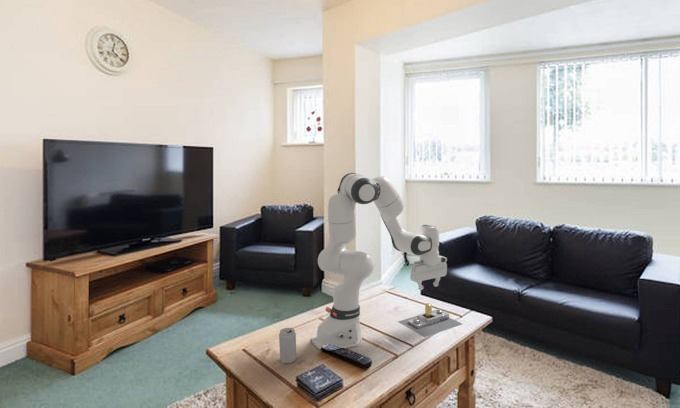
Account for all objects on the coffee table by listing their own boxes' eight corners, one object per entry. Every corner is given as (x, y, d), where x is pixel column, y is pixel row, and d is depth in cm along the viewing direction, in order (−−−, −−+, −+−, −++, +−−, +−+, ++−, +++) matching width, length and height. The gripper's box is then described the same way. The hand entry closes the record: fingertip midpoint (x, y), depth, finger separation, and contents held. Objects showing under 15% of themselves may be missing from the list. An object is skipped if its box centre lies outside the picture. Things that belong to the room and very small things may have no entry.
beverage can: (291, 365, 137) (290, 335, 135) (276, 362, 139) (275, 333, 138) (299, 357, 142) (298, 328, 141) (285, 354, 145) (284, 325, 143)
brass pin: (428, 322, 170) (428, 306, 169) (423, 320, 173) (424, 304, 172) (432, 321, 172) (433, 304, 171) (428, 318, 174) (428, 302, 173)
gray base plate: (424, 338, 156) (424, 337, 156) (397, 322, 172) (397, 321, 172) (462, 325, 168) (462, 324, 168) (434, 311, 184) (434, 310, 184)
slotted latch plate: (417, 328, 164) (417, 321, 164) (407, 322, 170) (407, 316, 170) (449, 318, 174) (449, 312, 174) (438, 313, 180) (438, 307, 180)
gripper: (417, 263, 161) (416, 293, 162) (449, 257, 171) (448, 286, 172) (407, 260, 166) (407, 289, 168) (439, 255, 177) (439, 282, 178)
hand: (428, 287), depth 170 cm, fingers open, 8 cm apart
